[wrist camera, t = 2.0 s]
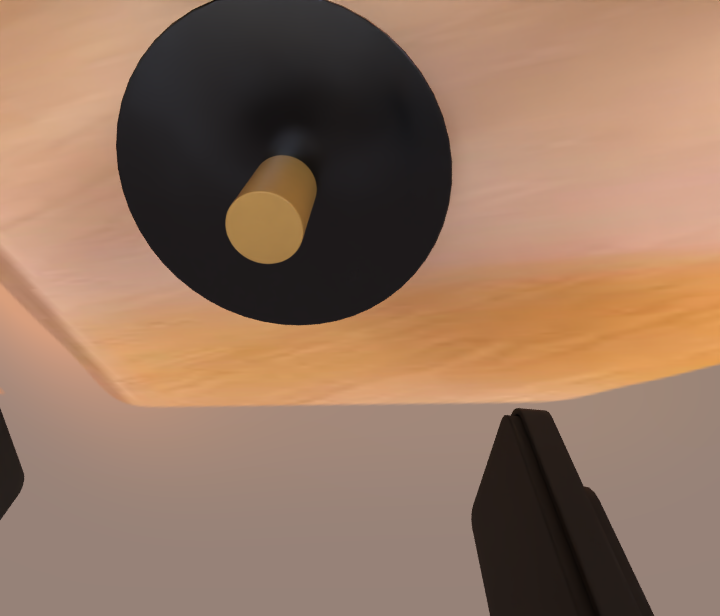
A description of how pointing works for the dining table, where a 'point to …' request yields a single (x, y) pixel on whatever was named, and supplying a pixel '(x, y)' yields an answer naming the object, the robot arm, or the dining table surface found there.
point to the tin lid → (284, 159)
